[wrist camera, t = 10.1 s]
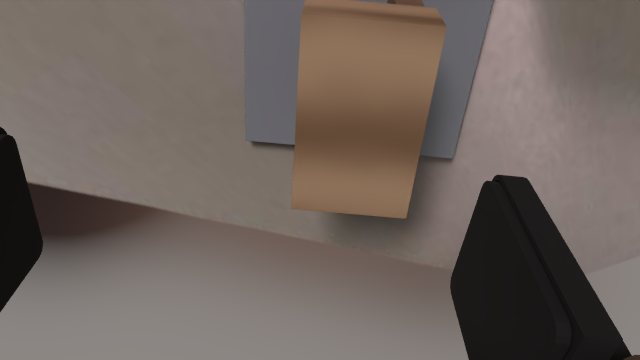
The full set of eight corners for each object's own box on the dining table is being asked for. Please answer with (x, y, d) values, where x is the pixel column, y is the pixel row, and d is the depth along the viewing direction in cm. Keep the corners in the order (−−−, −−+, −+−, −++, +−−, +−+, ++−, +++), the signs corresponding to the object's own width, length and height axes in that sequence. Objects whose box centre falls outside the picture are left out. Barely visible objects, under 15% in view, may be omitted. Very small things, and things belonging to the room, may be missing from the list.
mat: (248, 133, 34) (245, 140, 34) (246, -57, 28) (243, -54, 27) (450, 151, 35) (452, 158, 34) (496, -35, 28) (501, -31, 27)
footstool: (313, -28, 28) (301, 14, 20) (421, -19, 28) (446, 26, 20) (303, 132, 33) (291, 208, 26) (393, 139, 33) (405, 218, 26)
